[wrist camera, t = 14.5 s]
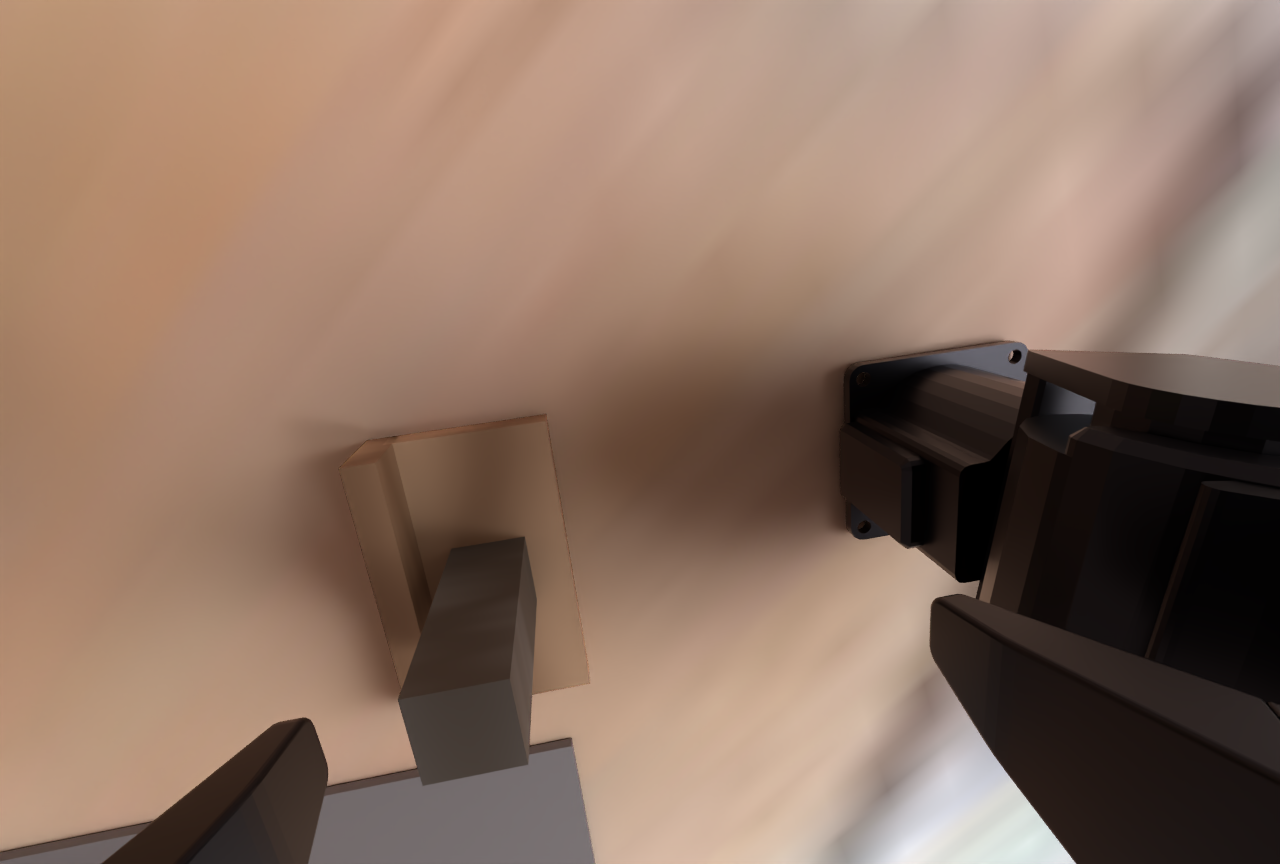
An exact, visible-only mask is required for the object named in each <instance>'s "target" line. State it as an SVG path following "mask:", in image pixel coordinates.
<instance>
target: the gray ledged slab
mask: <svg viewBox="0 0 1280 864" xmlns="http://www.w3.org/2000/svg"><path fill="white" fill-rule="evenodd" d="M151 823H152V822H150V823H145V824H140V825H135V826H130V827H125V828H120V829H115V830H110V831H105V832H100V833H95V834H90V835H85V836H80V837H76V838H71V839H66V840H61V841H56V842H51V843H46V844H41V845H36V846H31V847H26V848H21V849H16V850H11V851H6V852H1V853H0V864H101V863H102V862H104V861H105V860H106V859H107V858H108V857H110V856H111V855H112V854H113V853H115V852H116V851H117V850H118V849H120V848H121V847H122V846H123V845H125V844H126V843H127V842H128V841H130V840H131V839H132V838H133V837H135V836H136V835H137V834H138V833H139V832H141V831H142V830H143V829H144V828H146V827H147V826H148V825H149V824H151ZM308 864H595V860H594V854H593V849H592V844H591V839H590V833H589V828H588V823H587V817H586V812H585V807H584V801H583V796H582V791H581V785H580V780H579V775H578V769H577V764H576V759H575V754H574V748H573V743H572V738H570V739H565V740H560V741H555V742H550V743H545V744H540V745H535V746H530V747H529V762H528V765H524V766H519V767H514V768H509V769H504V770H499V771H494V772H490V773H485V774H480V775H475V776H470V777H465V778H460V779H455V780H450V781H445V782H440V783H435V784H430V785H425V786H422V782H421V779H420V775H419V772H418V769H415V770H410V771H405V772H400V773H395V774H390V775H385V776H380V777H375V778H370V779H365V780H360V781H355V782H350V783H345V784H340V785H335V786H330V787H326V790H325V795H324V799H323V803H322V808H321V812H320V816H319V820H318V825H317V829H316V833H315V837H314V842H313V846H312V850H311V854H310V859H309V863H308Z"/></svg>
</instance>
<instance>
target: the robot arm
mask: <svg viewBox="0 0 1280 864" xmlns="http://www.w3.org/2000/svg"><path fill="white" fill-rule="evenodd" d="M1011 351H1013V357H1012V359H1011V360H1010V361H1009V360H1008V356H1009V354H1010V352H1011ZM862 372H864V374H865V378H864V381H863V382H862V383H860V384H857V382H856V379H857V376H858V375H859V374H860V373H862ZM844 418H845V423H844V425H843V426H842V428H841V429H840V487H841V495H842V496H843V497H844V498H846V526H847V530H848V531H849V532H850V533H851V534H852V535H853V536H854V537H855V538H858V539H870V538H875V537H881V536H887V535H890V536H891V537H892V538H894V539H895V540H896V541H897V542H898V543H900V544H901V545H902V546H903V547H905V548H907V549H909V548H915V547H916V548H918V549H919V550H920V551H921V552H922V553H924V554H925V555H926V556H927V557H929V558H930V559H931V560H932V561H934V562H935V563H936V564H937V565H939V566H940V567H941V568H942V569H943V570H945V571H946V572H947V573H948V574H950V575H951V576H952V577H953V578H955V579H956V580H957V581H958V582H960V583H967V582H972V581H977V580H980V582H979V586H978V591H977V595H976V599H975V598H972V597H969V596H966V595H963V594H954V595H949V596H944V597H939V598H936V599H935V600H934V601H933V602H932V604H931V616H930V650H931V654H932V657H933V659H934V661H935V663H936V664H937V666H938V668H939V669H940V671H941V672H942V674H943V676H944V677H945V679H946V680H947V682H948V684H949V685H950V687H951V688H952V690H953V692H954V693H955V695H956V696H957V698H958V700H959V701H960V703H961V704H962V706H963V708H964V709H965V711H966V712H967V714H968V716H969V717H970V719H971V720H972V722H973V724H974V725H975V727H976V728H977V730H978V732H979V733H980V735H981V736H982V738H983V740H984V741H985V743H986V744H987V746H988V747H989V749H990V750H991V752H992V753H993V755H994V756H995V757H996V759H997V760H998V761H999V763H1000V764H1001V766H1002V767H1003V768H1004V770H1005V771H1006V772H1007V774H1008V775H1009V776H1010V778H1011V779H1012V780H1013V782H1014V783H1015V784H1016V785H1017V787H1018V788H1019V789H1020V791H1021V792H1022V793H1023V795H1024V796H1025V797H1026V799H1027V800H1028V801H1029V802H1030V804H1031V805H1032V806H1033V808H1034V809H1035V810H1036V812H1037V813H1038V814H1039V816H1040V817H1041V818H1042V820H1043V821H1044V822H1045V823H1046V825H1047V826H1048V827H1049V829H1050V830H1051V831H1052V833H1053V834H1054V835H1055V837H1056V838H1057V839H1058V840H1059V842H1060V843H1061V844H1062V846H1063V847H1064V848H1065V850H1066V851H1067V852H1068V854H1069V855H1070V856H1071V858H1072V859H1073V860H1074V861H1075V863H1076V864H1280V366H1275V365H1268V364H1260V363H1252V362H1244V361H1236V360H1228V359H1220V358H1212V357H1204V356H1196V355H1186V354H1157V353H1123V352H1090V351H1056V350H1028V349H1027V347H1026V346H1025V345H1024V344H1022V343H1020V342H1015V341H1002V342H996V343H989V344H982V345H975V346H968V347H962V348H955V349H948V350H941V351H934V352H927V353H921V354H914V355H907V356H900V357H893V358H887V359H880V360H873V361H866V362H859V363H856V364H853V365H851V366H850V367H849V368H848V369H847V371H846V372H845V376H844ZM862 521H866V522H865V525H864V526H863V527H862V528H860V529H858V525H859V524H860V523H861V522H862ZM327 781H328V767H327V762H326V759H325V756H324V753H323V750H322V747H321V744H320V741H319V739H318V736H317V733H316V730H315V727H314V725H313V723H312V722H311V720H310V719H308V718H298V719H293V720H287V721H282V722H278V723H276V724H274V725H272V726H271V727H270V728H268V729H267V730H266V731H265V732H263V733H262V734H261V735H260V736H258V737H257V738H256V739H255V740H253V741H252V742H251V743H250V744H249V745H247V746H246V747H245V748H244V749H242V750H241V751H240V752H239V753H237V754H236V755H235V756H234V757H232V758H231V759H230V760H229V761H227V762H226V763H225V764H224V765H222V766H221V767H220V768H219V769H218V770H216V771H215V772H214V773H213V774H211V775H210V776H209V777H208V778H206V779H205V780H204V781H203V782H201V783H200V784H199V785H198V786H196V787H195V788H194V789H193V790H192V791H190V792H189V793H188V794H187V795H185V796H184V797H183V798H182V799H180V800H179V801H178V802H177V803H175V804H174V805H173V806H172V807H170V808H169V809H168V810H167V811H165V812H164V813H163V814H162V815H161V816H159V817H158V818H157V819H156V820H154V821H153V822H152V823H151V824H149V825H148V826H147V827H146V828H144V829H143V830H142V831H141V832H139V833H138V834H137V835H136V836H135V837H133V838H132V839H131V840H130V841H128V842H127V843H126V844H125V845H123V846H122V847H121V848H120V849H118V850H117V851H116V852H115V853H113V854H112V855H111V856H110V857H108V858H107V859H106V860H105V861H104V862H102V863H101V864H308V863H309V859H310V854H311V850H312V846H313V842H314V837H315V833H316V829H317V825H318V820H319V816H320V812H321V808H322V803H323V799H324V795H325V790H326V786H327Z"/></svg>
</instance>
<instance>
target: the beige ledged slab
mask: <svg viewBox="0 0 1280 864" xmlns="http://www.w3.org/2000/svg"><path fill="white" fill-rule="evenodd" d="M339 472H340V476H341V479H342V483H343V486H344V490H345V493H346V497H347V501H348V504H349V508H350V511H351V515H352V518H353V522H354V525H355V529H356V532H357V536H358V539H359V543H360V546H361V550H362V553H363V557H364V560H365V564H366V568H367V571H368V575H369V578H370V582H371V585H372V589H373V592H374V596H375V599H376V603H377V606H378V610H379V613H380V617H381V620H382V624H383V628H384V631H385V635H386V638H387V642H388V645H389V649H390V652H391V656H392V659H393V663H394V666H395V670H396V673H397V677H398V680H399V684H400V687H401V692H400V695H399V698H398V702H399V706H400V709H401V713H402V716H403V720H404V723H405V727H406V730H407V734H408V737H409V740H410V744H411V747H412V751H413V754H414V758H415V761H416V765H417V768H418V772H419V775H420V779H421V782H422V786H425V785H430V784H435V783H440V782H445V781H450V780H455V779H460V778H465V777H470V776H475V775H480V774H485V773H490V772H494V771H499V770H504V769H509V768H514V767H519V766H524V765H528V762H529V743H530V724H531V704H532V695H533V694H538V693H543V692H548V691H554V690H559V689H564V688H569V687H575V686H580V685H585V684H590V677H589V666H588V660H587V654H586V649H585V643H584V637H583V631H582V625H581V619H580V613H579V607H578V601H577V595H576V589H575V583H574V577H573V571H572V565H571V559H570V553H569V547H568V541H567V536H566V530H565V524H564V518H563V512H562V506H561V500H560V494H559V488H558V482H557V476H556V470H555V464H554V458H553V452H552V446H551V440H550V434H549V428H548V423H547V417H546V414H544V415H537V416H530V417H523V418H516V419H509V420H503V421H496V422H489V423H482V424H475V425H468V426H462V427H455V428H448V429H441V430H434V431H427V432H420V433H414V434H407V435H400V436H393V437H386V438H379V439H373V440H367V441H366V442H365V443H364V444H363V445H362V446H361V447H360V448H359V449H358V450H357V451H356V452H355V453H354V454H353V455H352V456H351V457H350V458H349V459H348V460H347V461H346V462H345V463H344V464H343V465H342V466H341V467H340V468H339Z"/></svg>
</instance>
